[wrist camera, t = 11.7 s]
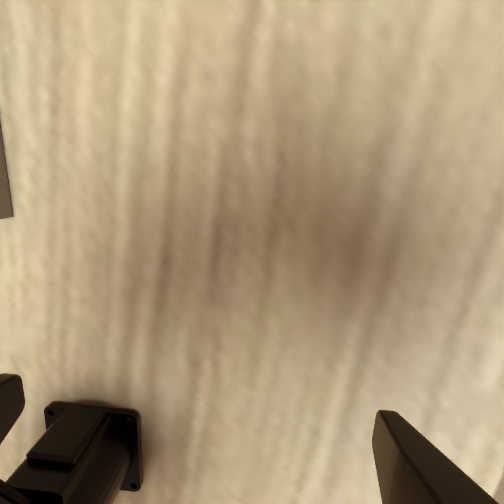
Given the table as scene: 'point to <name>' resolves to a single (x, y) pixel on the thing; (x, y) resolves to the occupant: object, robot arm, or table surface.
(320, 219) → the table surface
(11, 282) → the table surface
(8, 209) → the dock
